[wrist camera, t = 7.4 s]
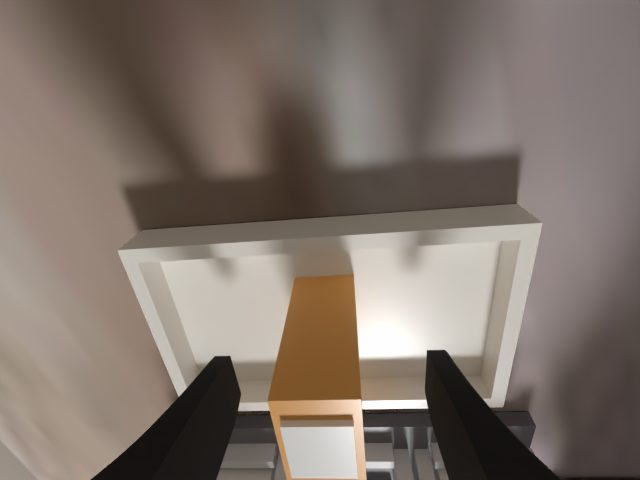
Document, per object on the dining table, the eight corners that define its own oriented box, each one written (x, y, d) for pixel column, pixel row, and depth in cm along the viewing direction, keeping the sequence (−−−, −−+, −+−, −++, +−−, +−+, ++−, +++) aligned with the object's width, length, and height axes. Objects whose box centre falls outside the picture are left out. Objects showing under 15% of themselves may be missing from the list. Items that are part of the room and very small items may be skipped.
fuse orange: (358, 346, 16) (367, 493, 10) (306, 347, 16) (287, 492, 11) (354, 274, 14) (361, 406, 9) (295, 277, 14) (265, 407, 9)
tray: (517, 203, 13) (542, 222, 11) (487, 375, 17) (503, 407, 15) (142, 230, 14) (117, 250, 13) (198, 382, 18) (184, 411, 17)
